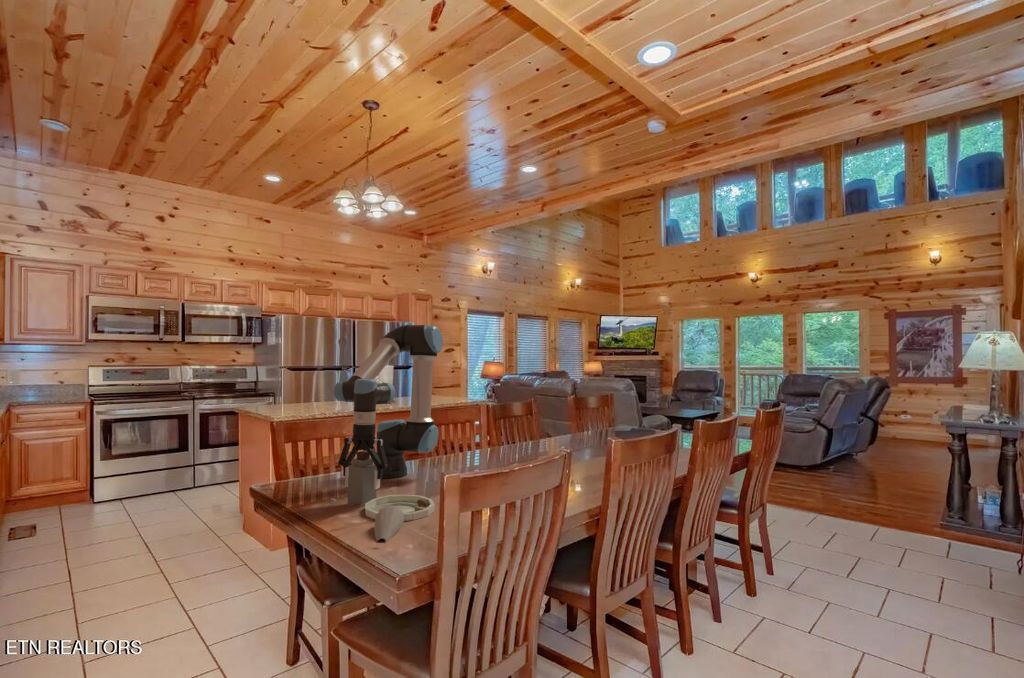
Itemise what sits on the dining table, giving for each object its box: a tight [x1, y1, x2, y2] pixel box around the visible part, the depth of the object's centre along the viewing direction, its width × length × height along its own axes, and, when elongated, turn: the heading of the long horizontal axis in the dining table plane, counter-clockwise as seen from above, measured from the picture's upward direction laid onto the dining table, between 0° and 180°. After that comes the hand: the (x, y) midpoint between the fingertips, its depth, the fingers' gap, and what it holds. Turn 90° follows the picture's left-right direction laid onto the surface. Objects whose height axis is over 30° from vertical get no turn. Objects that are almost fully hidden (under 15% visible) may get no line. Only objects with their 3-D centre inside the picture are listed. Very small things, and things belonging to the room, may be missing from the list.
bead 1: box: [417, 499, 426, 507], centre depth 174 cm, size 3×3×2 cm
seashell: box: [373, 505, 405, 544], centre depth 150 cm, size 9×11×15 cm
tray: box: [364, 494, 436, 522], centre depth 169 cm, size 22×22×3 cm
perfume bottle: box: [347, 450, 377, 507], centre depth 179 cm, size 7×7×18 cm
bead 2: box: [415, 507, 424, 512], centre depth 166 cm, size 3×3×2 cm
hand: (362, 487), depth 179 cm, fingers open, 10 cm apart
